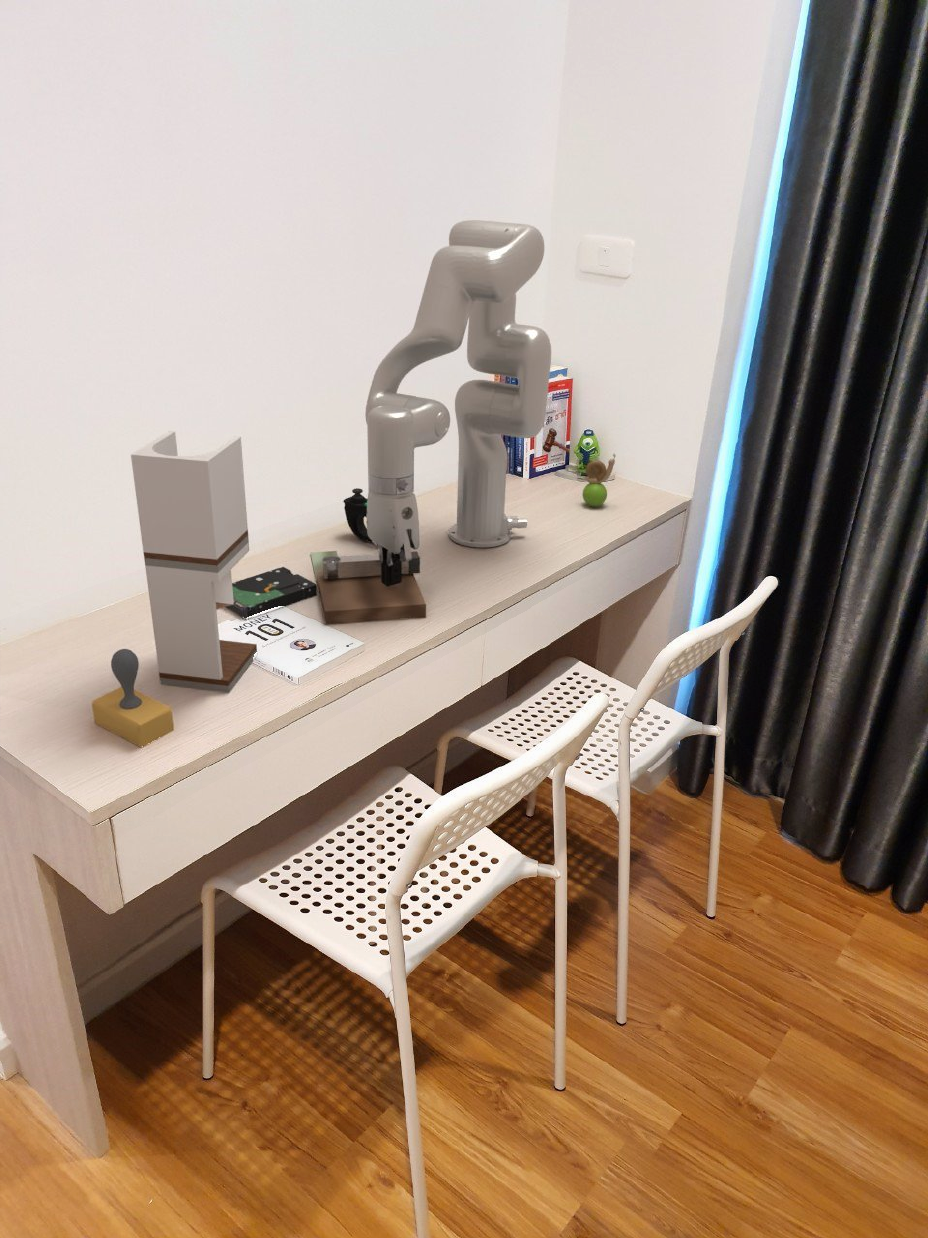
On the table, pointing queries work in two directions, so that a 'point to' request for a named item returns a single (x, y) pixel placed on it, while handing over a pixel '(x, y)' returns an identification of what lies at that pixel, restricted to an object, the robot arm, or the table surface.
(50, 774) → the table surface
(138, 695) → the rubber stamp
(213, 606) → the gray dispenser tower
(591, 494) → the snail figurine
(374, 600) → the brown flat wooden board
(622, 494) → the table surface
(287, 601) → the disk drive
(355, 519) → the controller
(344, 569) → the folding leg
